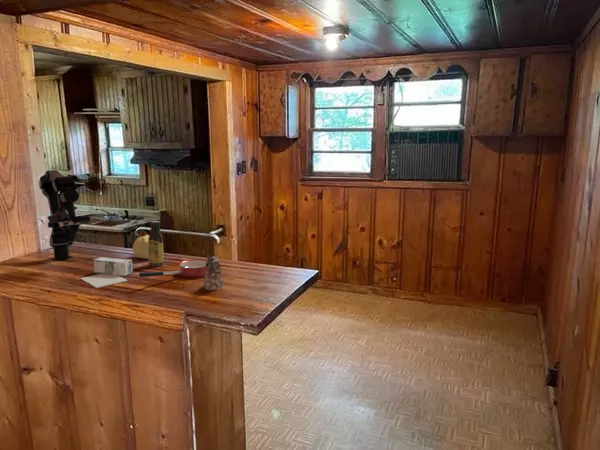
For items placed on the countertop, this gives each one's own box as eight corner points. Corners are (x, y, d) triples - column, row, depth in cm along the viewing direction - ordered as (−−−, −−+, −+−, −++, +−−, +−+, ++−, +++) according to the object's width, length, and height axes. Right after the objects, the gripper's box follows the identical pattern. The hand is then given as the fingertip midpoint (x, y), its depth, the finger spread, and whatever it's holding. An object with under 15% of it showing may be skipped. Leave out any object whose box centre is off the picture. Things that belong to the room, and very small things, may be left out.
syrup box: (101, 269, 183) (133, 272, 181) (93, 273, 178) (125, 276, 175) (101, 256, 183) (133, 259, 180) (92, 259, 177) (125, 262, 174)
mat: (80, 278, 172) (80, 278, 172) (110, 272, 181) (110, 271, 181) (96, 288, 161) (96, 287, 161) (127, 281, 170) (127, 280, 170)
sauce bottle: (145, 266, 191) (143, 221, 187) (155, 262, 196) (153, 219, 193) (157, 267, 188) (155, 222, 185) (167, 264, 194) (164, 220, 190)
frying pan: (157, 293, 156) (156, 276, 155) (134, 287, 163) (132, 271, 162) (218, 272, 183) (217, 257, 182) (195, 267, 190) (195, 253, 189)
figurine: (214, 291, 159) (213, 259, 157) (200, 287, 163) (198, 257, 160) (227, 286, 165) (226, 255, 163) (213, 282, 169) (212, 253, 166)
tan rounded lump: (155, 260, 199) (154, 238, 197) (129, 260, 200) (128, 237, 198) (163, 254, 211) (162, 233, 209) (139, 254, 211) (137, 232, 209)
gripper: (33, 209, 181) (39, 246, 181) (66, 202, 174) (72, 240, 174) (57, 208, 191) (62, 243, 191) (88, 202, 184) (94, 238, 184)
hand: (72, 241), depth 185 cm, fingers closed
